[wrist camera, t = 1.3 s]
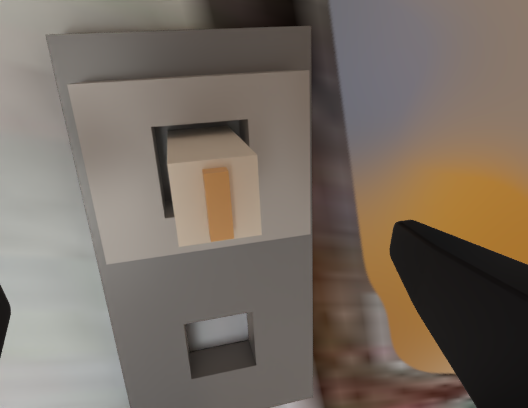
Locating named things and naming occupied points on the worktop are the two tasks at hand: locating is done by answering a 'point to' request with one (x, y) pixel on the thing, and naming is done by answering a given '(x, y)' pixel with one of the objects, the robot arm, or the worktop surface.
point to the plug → (213, 185)
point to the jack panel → (203, 271)
